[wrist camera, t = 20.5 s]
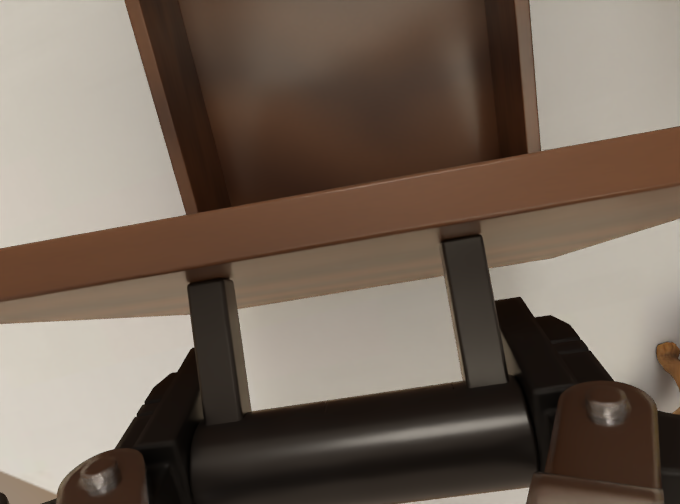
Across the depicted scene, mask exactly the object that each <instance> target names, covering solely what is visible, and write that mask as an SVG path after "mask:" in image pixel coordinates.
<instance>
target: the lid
mask: <svg viewBox="0 0 680 504" xmlns="http://www.w3.org/2000/svg"><path fill="white" fill-rule="evenodd" d="M676 219H680V126H678V127H672V128H667V129H661V130H656V131H650V132H644V133H639V134H633V135H628V136H622V137H617V138H611V139H606V140H600V141H594V142H589V143H583V144H578V145H572V146H567V147H561V148H556V149H550V150H544V151H539V152H533V153H528V154H522V155H517V156H511V157H506V158H500V159H494V160H489V161H483V162H478V163H472V164H467V165H461V166H456V167H450V168H445V169H439V170H433V171H428V172H422V173H417V174H411V175H406V176H400V177H395V178H389V179H383V180H378V181H372V182H367V183H361V184H356V185H350V186H345V187H339V188H333V189H328V190H322V191H317V192H311V193H306V194H300V195H295V196H289V197H283V198H278V199H272V200H267V201H261V202H256V203H250V204H245V205H239V206H233V207H228V208H222V209H217V210H211V211H206V212H200V213H195V214H189V215H183V216H178V217H172V218H167V219H161V220H156V221H150V222H145V223H139V224H133V225H128V226H122V227H117V228H111V229H106V230H100V231H95V232H89V233H83V234H78V235H72V236H67V237H61V238H56V239H50V240H45V241H39V242H34V243H28V244H22V245H17V246H11V247H6V248H0V324H10V323H30V322H50V321H70V320H91V319H111V318H131V317H151V316H171V315H190V316H191V324H192V332H193V340H194V347H195V355H196V363H197V371H198V378H199V386H200V394H201V402H202V409H203V417H204V419H203V420H202V421H201V422H200V423H199V424H198V425H197V427H196V429H195V432H194V435H193V438H192V442H191V448H190V459H189V477H190V487H191V494H192V499H193V503H194V504H401V503H409V502H417V501H425V500H433V499H441V498H449V497H457V496H465V495H473V494H481V493H489V492H497V491H505V490H513V489H521V488H529V487H530V484H531V480H532V476H533V474H534V472H535V471H540V464H539V455H538V448H537V442H536V437H535V432H534V427H533V423H532V419H531V415H530V411H529V408H528V405H527V401H526V398H525V396H524V393H523V390H522V388H521V386H520V384H519V382H518V380H517V379H516V377H515V376H514V375H510V374H508V370H507V365H506V360H505V354H504V349H503V343H502V338H501V333H500V327H499V322H498V316H497V311H496V306H495V300H494V295H493V289H492V284H491V279H490V273H489V268H494V267H501V266H507V265H513V264H519V263H525V262H531V261H538V260H544V259H550V258H554V257H558V256H561V255H564V254H567V253H570V252H574V251H577V250H580V249H583V248H586V247H590V246H593V245H596V244H599V243H603V242H606V241H609V240H612V239H615V238H619V237H622V236H625V235H628V234H631V233H635V232H638V231H641V230H644V229H647V228H651V227H654V226H657V225H660V224H663V223H667V222H670V221H673V220H676ZM439 276H444V278H445V283H446V289H447V295H448V300H449V306H450V312H451V317H452V323H453V329H454V334H455V340H456V345H457V351H458V357H459V362H460V368H461V374H462V379H463V381H459V382H452V383H445V384H438V385H431V386H424V387H417V388H410V389H403V390H396V391H389V392H382V393H375V394H369V395H362V396H355V397H348V398H341V399H334V400H327V401H320V402H313V403H306V404H299V405H292V406H285V407H278V408H271V409H264V410H257V411H251V404H250V397H249V389H248V382H247V375H246V368H245V360H244V353H243V346H242V339H241V331H240V324H239V317H238V310H237V309H242V308H248V307H254V306H260V305H266V304H272V303H279V302H285V301H291V300H297V299H303V298H309V297H316V296H322V295H328V294H334V293H340V292H346V291H353V290H359V289H365V288H371V287H377V286H383V285H390V284H396V283H402V282H408V281H414V280H420V279H427V278H433V277H439Z"/></svg>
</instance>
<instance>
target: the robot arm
mask: <svg viewBox="0 0 680 504" xmlns="http://www.w3.org/2000/svg"><path fill="white" fill-rule="evenodd" d="M495 306H496V311H497V316H498V322H499V327H500V333H501V338H502V343H503V349H504V354H505V360H506V365H507V370H508V374H510V375H514V376H515V377H516V379H517V380H518V382H519V384H520V386H521V388H522V390H523V393H524V396H525V398H526V401H527V405H528V408H529V411H530V415H531V419H532V423H533V427H534V432H535V437H536V442H537V448H538V455H539V464H540V471H535V472H534V474H533V476H532V480H531V484H530V488H529V493H528V497H527V502H526V504H680V415H679V414H671V413H665V412H661V411H657V406H656V403H655V402H654V400H653V399H652V398H651V397H650V396H649V395H648V394H647V393H645V392H644V391H642V390H640V389H639V388H636V387H634V386H631V385H628V384H625V383H620V382H615V381H614V380H613V379H612V378H611V376H610V375H609V374H608V372H607V371H606V370H605V369H604V367H603V366H602V365H601V364H600V362H599V361H598V360H597V359H596V357H595V356H594V355H593V354H592V352H591V351H589V350H588V347H587V346H586V345H585V343H584V342H583V341H582V340H580V337H579V336H578V335H577V333H576V332H575V331H574V329H573V328H572V327H571V326H570V325H569V324H567V323H565V322H563V321H561V320H559V319H557V318H555V317H553V316H551V315H549V316H542V317H536V318H535V317H534V316H533V314H532V313H531V312H530V310H529V309H528V307H527V306H526V304H525V303H524V301H523V300H522V298H521V297H516V298H509V299H503V300H497V301H495ZM203 419H204V417H203V409H202V402H201V394H200V386H199V378H198V371H197V363H196V355H195V348H192V349H191V350H190V352H189V353H188V355H187V357H186V358H185V360H184V362H183V363H182V365H181V367H180V368H179V370H178V372H175V373H171V374H169V375H168V376H167V377H166V378H165V379H163V380H162V381H161V382H160V383H158V384H157V385H156V386H155V387H154V388H153V389H152V391H151V393H150V394H149V396H148V397H147V399H146V400H145V405H142V407H141V408H140V410H139V411H138V413H137V417H135V418H134V419H133V421H132V422H131V424H130V426H129V427H128V429H127V430H126V432H125V433H124V435H123V437H122V438H121V440H120V441H119V443H118V444H117V446H116V448H115V449H114V450H109V451H106V452H103V453H100V454H98V455H96V456H94V457H92V458H90V459H88V460H86V461H84V462H83V463H81V464H80V465H78V466H77V467H75V468H74V469H73V470H72V471H71V472H70V473H69V474H68V475H67V476H66V477H65V478H64V479H63V481H62V482H61V484H60V486H59V488H58V492H57V498H56V499H54V500H51V501H48V502H45V503H42V504H194V503H193V499H192V494H191V487H190V477H189V459H190V448H191V442H192V438H193V435H194V432H195V429H196V427H197V425H198V424H199V423H200V422H201V421H202V420H203ZM0 504H9V501H8V499H7V497H6V496H5V495H4V494H3V493H0Z"/></svg>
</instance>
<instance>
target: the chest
mask: <svg viewBox="0 0 680 504" xmlns="http://www.w3.org/2000/svg"><path fill="white" fill-rule="evenodd" d="M125 4H126V7H127V11H128V14H129V18H130V21H131V25H132V28H133V32H134V35H135V38H136V42H137V45H138V49H139V52H140V56H141V59H142V63H143V66H144V70H145V73H146V77H147V80H148V84H149V87H150V91H151V94H152V97H153V101H154V104H155V108H156V111H157V115H158V118H159V122H160V125H161V129H162V132H163V136H164V139H165V143H166V146H167V149H168V153H169V156H170V160H171V163H172V167H173V170H174V174H175V177H176V181H177V184H178V188H179V191H180V195H181V198H182V202H183V205H184V208H185V212H186V215H189V214H195V213H200V212H206V211H211V210H217V209H222V208H228V207H233V206H239V205H245V204H250V203H256V202H261V201H267V200H272V199H278V198H283V197H289V196H295V195H300V194H306V193H311V192H317V191H322V190H328V189H333V188H339V187H345V186H350V185H356V184H361V183H367V182H372V181H378V180H383V179H389V178H395V177H400V176H406V175H411V174H417V173H422V172H428V171H433V170H439V169H445V168H450V167H456V166H461V165H467V164H472V163H478V162H483V161H489V160H494V159H500V158H506V157H511V156H517V155H522V154H528V153H533V152H539V151H541V146H540V133H539V121H538V108H537V95H536V82H535V69H534V57H533V44H532V31H531V18H530V6H529V0H125Z"/></svg>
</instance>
